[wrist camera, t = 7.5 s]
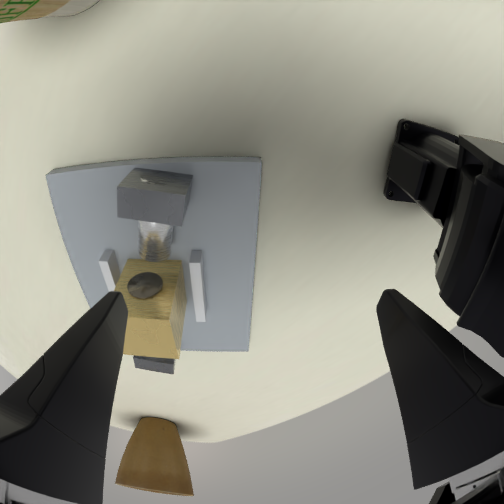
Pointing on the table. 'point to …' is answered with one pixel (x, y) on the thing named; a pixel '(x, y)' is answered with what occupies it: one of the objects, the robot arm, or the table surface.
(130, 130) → the table surface
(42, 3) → the coffee cup
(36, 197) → the table surface
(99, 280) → the grey base plate
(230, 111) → the table surface
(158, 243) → the shaft
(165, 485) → the plant pot
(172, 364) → the shaft
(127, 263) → the block
